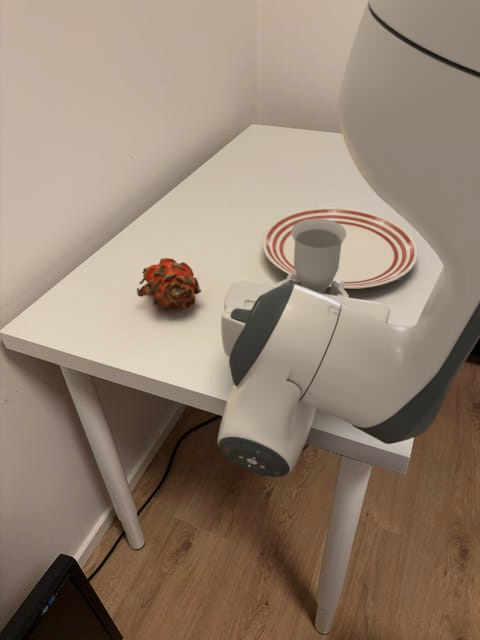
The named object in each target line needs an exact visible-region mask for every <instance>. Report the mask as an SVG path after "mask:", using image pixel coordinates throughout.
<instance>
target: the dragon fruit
mask: <svg viewBox="0 0 480 640" xmlns="http://www.w3.org/2000/svg"><path fill="white" fill-rule="evenodd" d="M139 275H140V276H141V274H139ZM139 275H138V276H139ZM142 277H143V278H142V279H141V281H140V282H138V284H139V285H142V284H143V283H145V281H146V283H145V284H144V285H143V286H142V287H140V288H139V287H136V294H137V296H138V297H141V298H142V297H145V296H147V297H153V302H152V305H153V307H155V308H157V309H159V310H160V309H162V308H167V309H169V310H171V311H178V310H182V309H184V308H186V309H190V308H192V307H193V306H195V305H196V295H198V294H200V293H202V290H201V287H200V285H199V281H198V279H197V277H195V276H194V271H193V269H192V267H191V266H190V265H189V264H187V263H186V262H184V261H182V262H180V263H178V262H177V261H176V260H175V259H173V258H170V257H163V258H160V260H159V263H157V264H152V265H150V266H148V267H144V268H143V269H142Z"/></svg>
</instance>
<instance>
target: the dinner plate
mask: <svg viewBox="0 0 480 640" xmlns="http://www.w3.org/2000/svg"><path fill="white" fill-rule="evenodd" d="M315 218H316V219H327V220H331V221H334V222H336V223H338V224H340V225H341V226H342V227H344V229H345V231H346V238H345V239H344V241H343V242H342V244H341V251H340V260H339V269H338V271H337V273H336V275H335V277H334V279H333V280H337V281H344V285H343V289H344V290H345V289H347V290H348V289H350V290H352V289H354V290H357V289H366V288H374V287H379V286H383V285H386V284H390V283H392V282H394V281H397V280H399V279H401V278H403V277H404V276H405V275H407V274H408V273H409V272H410V271H411V270H412V269H413V268H414V266H415V265H416V263H417V261H418V256H419V249H418V245H417V243H416V241H415V239H414V238H413V237H412V235H411V234H410V233H409V232H408V231H407V229H405V228H404V227H402V226H401V225H399V224H398V223H396V222H394V221H393V220H391V219H389V218H387V217H384V216H382V215H379V214H377V213H372V212H369V211H366V210H361V209H356V208H349V207H338V206H322V207H321V206H320V207H312V208H311V207H310V208H305V209H300V210H296V211H292V212H290V213H287V214H285V215H282V216H281V217H279V218H277V219H275V220H274V221H273V222H272V223H271V224H270V225H269V226H268V227H267V228H266V229H265V232H264V234H263V237H262V241H261V242H262V243H261V244H262V249H263V252H264V254H265V256H266V257H267V259H268V260H269V262H271V263H272V265H274V266H275V267H276V268H278V269H279V270H281V271H282V272H283V273H285V274H287V275H288V274H289V273H290V274H296V271H295V268H294V248H295V241H294V239H293V236H292V234H291V231H292V228H293V227H294V225H295V224H297V223H299V222H300V221H304V220H307V219H315ZM331 284H332V282H331ZM331 284H330V285H329V287H328V288H331Z"/></svg>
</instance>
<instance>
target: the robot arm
mask: <svg viewBox="0 0 480 640" xmlns="http://www.w3.org/2000/svg"><path fill="white" fill-rule="evenodd" d="M337 99H338V100H337V108H338V109H337V111H338V118H339V119H338V120H339V125H340V131H341V135H342V138H343V141H344V143H345V146H346V149H347V151H348V154H349V155H350V158H351V160H352V162H353V163H354V165H355V167H356V169H357V170H358V172H359V174H360V175H361V177H362V178H363V179H364V181H365V182H366V183H367V185H368V186H369V187H370V188H371V189H372V191H373V192H374V193H375V194H376V195H377V197H379V198H380V200H382V201H383V202H384V204H386V205H387V206H388V207H390V208H391V209H392V210H393V211H395V212H396V214H397V215H398V216H400V217H401V218H402V219H403V220H404V221H406V222H407V223H408V224H409V225H410V226H411V227H412V228H413V229H414V230H415V231H416V232H417V233H418V234H419V235H420V236H421V237H422V238H423V239H424V240H425V241H426V243H427V244H428V246H430V247H431V248H432V250H433V251H434V252H435V254H436V255H437V257H438V258H439V260H440V261H441V263H442V266H443V267H442V269H441V271H440V273H439V275H438V278H437V279H436V282H435V283H434V285H433V288H432V289H431V292H430V294H429V296H428V298H427V300H426V303H425V304H424V306H423V309H422V311H421V313H420V315H419V317H418V319H417V321H416V323H415V324H414V325H406V326H405V325H397V324H392V323H389V318H390V312H391V310H390V308H389V307H388V306H387V305H386V304H385V303H384V302H379V301H372V300H365V299H359V298H352V297H349V294H348V293H347V291H346V290H345V288H344V289H343V285H344V281H337V280H333V281H332V284H331V287H330V293H329V294H327V293H323V294H321V293H317V292H315V291H312V290H310V289H308V288H305V287H302V286H301V285H300V282H299V280H298V277H297V274H290V273H289V274H287V277H286V278H285V279H282V280H281V281H278V282H276V283H274V285H268V284H262V283H256V282H250V281H245V280H239V281H237V282H233V283H232V284H231V285H230V286H229V288H228V290H227V293H226V295H225V297H224V301H223V311H222V313H221V316H220V317H221V318H220V334H221V342H222V343H221V344H222V347H223V352H224V354H225V355H226V356H227V358H229V359H228V365H229V369H230V375H231V379H232V382H233V386H232V387H231V391H230V393H229V396H228V399H227V401H226V404H225V408H224V411H223V413H222V418H221V421H220V425H219V430H218V434H217V446H218V448H219V450H220V452H221V453H222V454H223V455H224V456H225V457H226V458H227V459H228V460H229V461H230V462H231V463H233V464H234V465H237V466H239V467H240V468H242V469H245V470H247V471H249V472H252V473H254V474H257V475H260V476H263V477H264V476H265V477H271V478H275V477H277V478H278V477H284V476H288V475H290V473H291V472H292V471H293V470H294V468H295V466H296V464H297V462H298V461H299V458H300V456H301V454H302V451H303V449H304V446H305V445H306V442H307V440H308V437H309V434H310V431H311V429H312V426H313V422H314V418H315V416H316V412H317V410H318V411H321V412H323V413H325V414H326V415H330V416H332V417H334V418H335V419H339V420H340V421H343V422H346V423H348V424H350V425H352V426H353V427H354V428H356V429H357V430H359V431H361V432H363V433H365V434H366V435H369V436H371V437H372V438H374V439H376V440H378V441H380V442H381V443H383V444H386V445H392V444H396V443H401V442H404V441H408V440H411V439H413V438H416V437H418V436H420V435H422V434H425V433H426V432H427V431H428V430H429V429H430V428H431V426H432V425H433V423H434V422H435V420H436V418H437V416H438V415H439V412H440V410H441V409H442V406H443V404H444V402H445V400H446V398H447V396H448V394H449V392H450V389H451V388H452V384H453V382H454V381H455V379H456V377H457V375H458V374H459V372H460V370H461V368H462V367H463V365H464V364H465V362H466V360H467V359H468V357H469V356H470V355H471V353H472V351H473V349H474V347H475V346H476V344H477V343H478V341H479V339H480V0H367V3H366V6H365V8H364V10H363V13H362V16H361V19H360V21H359V24H358V26H357V30H356V33H355V36H354V39H353V42H352V45H351V49H350V51H349V54H348V58H347V62H346V66H345V68H344V73H343V77H342V81H341V85H340V89H339V94H338V98H337Z"/></svg>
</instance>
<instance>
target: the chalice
mask: <svg viewBox="0 0 480 640" xmlns="http://www.w3.org/2000/svg"><path fill="white" fill-rule="evenodd" d="M291 234H292V236H293V239H294V241H295V248H294V268H295V271H296V274H297V277H298V280H299V285H300V286H302V287H305V288H308V289H310V290H312V291H315V292H317V293H321V294H325V292H326V291H327V290H328V288H330V287H329V285H330V284H331V282H332V281H333V279H334V277H335V275H336V273H337V271H338V269H339V260H340V251H341V244H342V242H343V241H344V239H345V238H346V231H345V229H344V227H342V226H341V225H340V224H338V223H336V222H334V221H331V220H327V219H316V218H315V219H307V220H304V221H300V222H299V223H297V224H295V225H294V227H293V228H292V231H291Z"/></svg>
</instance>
